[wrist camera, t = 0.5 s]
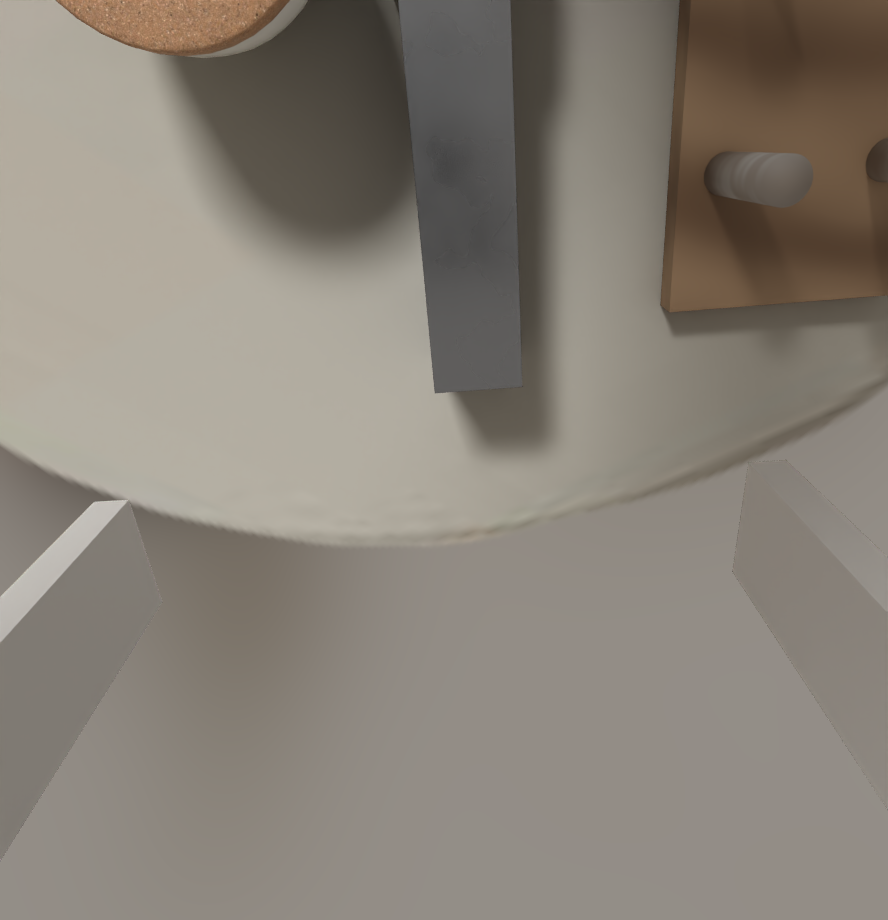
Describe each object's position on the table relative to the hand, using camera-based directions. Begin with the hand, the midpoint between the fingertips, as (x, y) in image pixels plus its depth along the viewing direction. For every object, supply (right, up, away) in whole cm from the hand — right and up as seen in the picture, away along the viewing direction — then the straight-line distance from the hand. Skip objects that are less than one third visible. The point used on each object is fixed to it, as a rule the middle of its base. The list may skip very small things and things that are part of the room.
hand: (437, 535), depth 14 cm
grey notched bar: (+1, +16, +16) cm, 22 cm away
